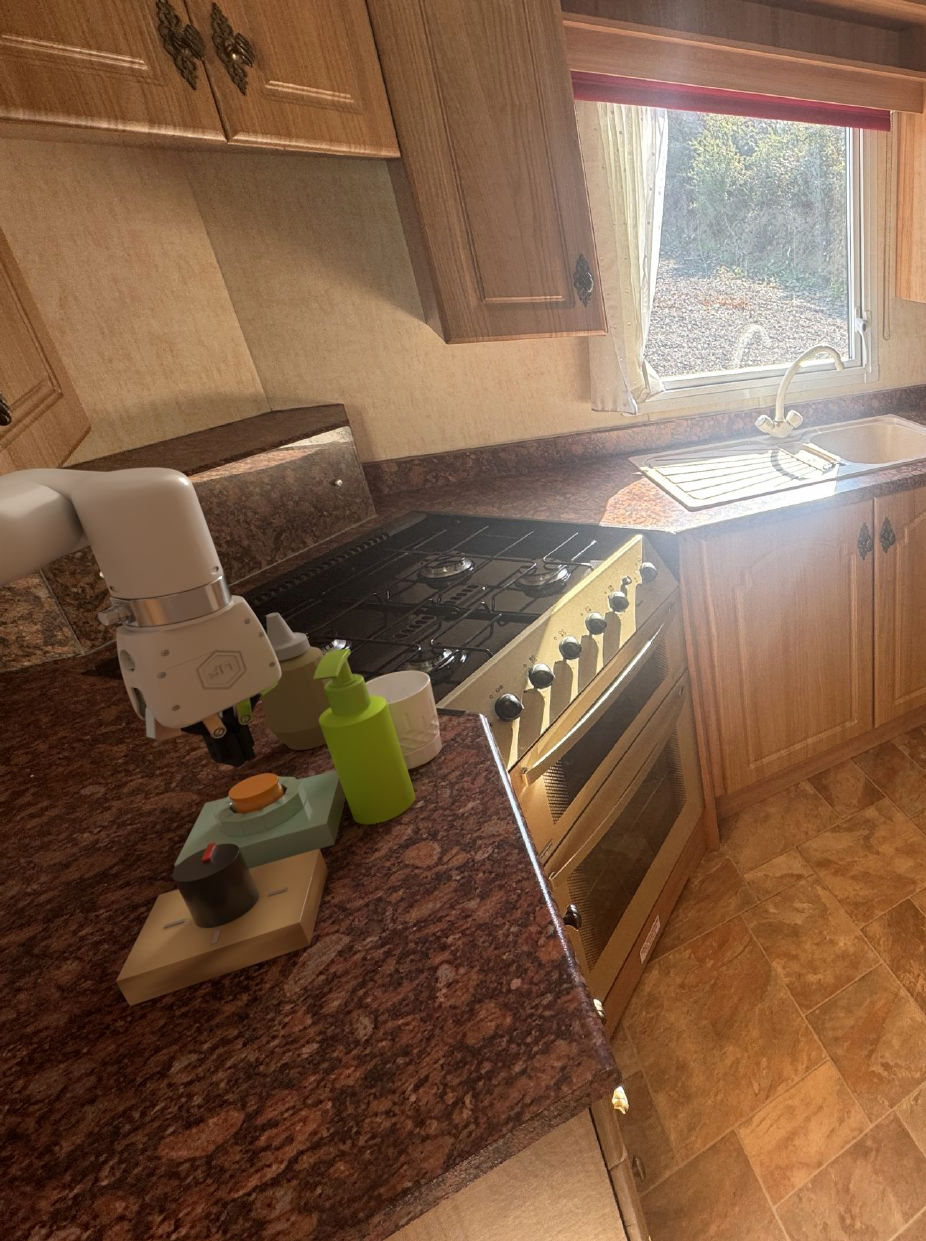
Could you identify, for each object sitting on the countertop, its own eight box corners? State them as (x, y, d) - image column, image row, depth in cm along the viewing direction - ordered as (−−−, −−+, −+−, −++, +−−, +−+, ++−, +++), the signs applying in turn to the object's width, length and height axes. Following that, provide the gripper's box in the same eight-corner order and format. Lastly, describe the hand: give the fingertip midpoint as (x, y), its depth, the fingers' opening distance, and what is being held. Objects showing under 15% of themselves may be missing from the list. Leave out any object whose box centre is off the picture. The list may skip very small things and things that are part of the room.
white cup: (431, 772, 88) (411, 703, 84) (360, 778, 87) (336, 708, 83) (458, 733, 95) (440, 668, 92) (393, 738, 94) (372, 672, 90)
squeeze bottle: (364, 714, 99) (325, 596, 92) (341, 750, 92) (297, 625, 85) (293, 725, 96) (248, 604, 90) (264, 762, 89) (213, 634, 83)
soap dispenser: (344, 837, 78) (286, 679, 71) (360, 796, 84) (308, 646, 77) (408, 822, 80) (358, 667, 73) (419, 783, 86) (374, 636, 79)
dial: (254, 914, 65) (232, 865, 63) (188, 936, 63) (163, 886, 61) (263, 881, 69) (243, 834, 67) (202, 900, 67) (179, 852, 64)
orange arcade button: (230, 819, 74) (223, 803, 73) (240, 795, 77) (234, 780, 77) (279, 806, 76) (273, 790, 75) (287, 783, 79) (282, 768, 78)
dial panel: (129, 1006, 60) (114, 980, 59) (170, 918, 68) (158, 893, 67) (309, 945, 66) (299, 920, 65) (328, 870, 74) (319, 846, 73)
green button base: (184, 888, 72) (165, 849, 70) (214, 824, 80) (198, 787, 78) (334, 844, 77) (320, 807, 75) (348, 789, 85) (336, 754, 83)
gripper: (101, 643, 60) (176, 817, 67) (289, 576, 74) (336, 726, 80) (40, 629, 62) (120, 800, 69) (235, 566, 75) (286, 714, 82)
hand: (237, 760), depth 74 cm, fingers closed
